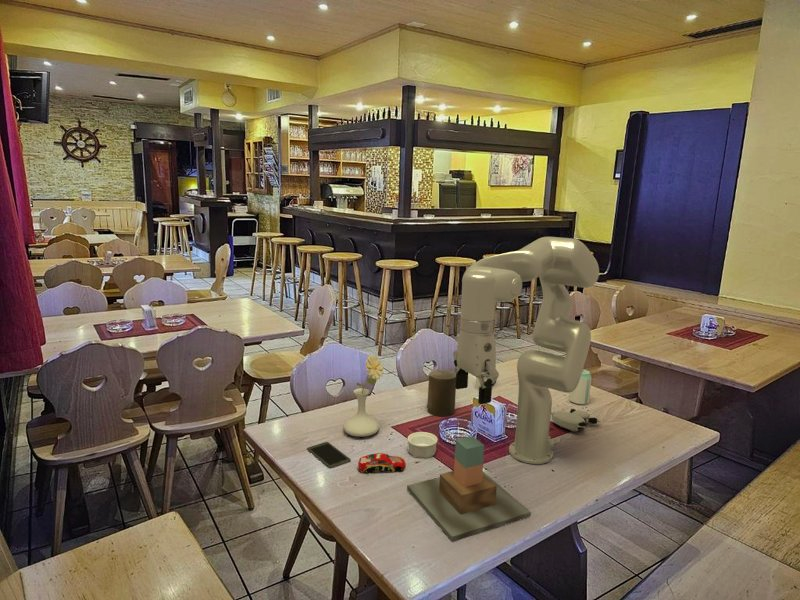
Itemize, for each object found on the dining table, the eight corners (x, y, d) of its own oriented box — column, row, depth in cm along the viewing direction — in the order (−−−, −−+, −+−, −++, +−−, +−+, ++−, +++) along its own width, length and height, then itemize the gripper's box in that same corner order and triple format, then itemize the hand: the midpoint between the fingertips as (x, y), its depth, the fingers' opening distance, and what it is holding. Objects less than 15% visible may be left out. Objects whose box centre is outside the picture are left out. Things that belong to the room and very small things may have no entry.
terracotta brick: (470, 472, 129) (471, 454, 128) (482, 482, 125) (483, 464, 124) (453, 476, 127) (454, 458, 126) (464, 487, 123) (465, 468, 122)
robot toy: (571, 416, 181) (544, 423, 172) (572, 404, 180) (545, 410, 172) (602, 429, 172) (575, 437, 163) (604, 416, 171) (577, 424, 162)
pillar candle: (447, 419, 174) (449, 377, 171) (422, 412, 179) (423, 371, 176) (459, 409, 182) (461, 369, 179) (435, 403, 187) (437, 364, 184)
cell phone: (327, 443, 156) (327, 441, 156) (352, 462, 145) (352, 460, 145) (305, 450, 152) (305, 447, 151) (329, 470, 141) (329, 467, 141)
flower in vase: (355, 443, 155) (355, 365, 150) (336, 429, 164) (336, 355, 159) (390, 432, 163) (392, 357, 158) (370, 419, 172) (372, 348, 167)
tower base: (478, 471, 142) (479, 450, 140) (530, 516, 122) (532, 493, 121) (407, 489, 132) (407, 467, 131) (451, 541, 113) (453, 516, 111)
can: (564, 399, 193) (567, 369, 191) (579, 397, 196) (582, 367, 194) (578, 406, 187) (581, 375, 185) (592, 403, 190) (596, 373, 188)
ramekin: (418, 462, 146) (418, 448, 145) (401, 449, 153) (401, 435, 152) (443, 454, 151) (443, 441, 150) (425, 442, 158) (425, 429, 157)
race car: (404, 463, 146) (404, 450, 145) (406, 473, 140) (407, 459, 140) (357, 464, 144) (358, 451, 143) (358, 474, 139) (358, 461, 138)
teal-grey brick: (472, 454, 128) (473, 436, 127) (483, 464, 124) (484, 445, 123) (454, 458, 126) (455, 439, 125) (465, 468, 122) (466, 448, 121)
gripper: (513, 333, 112) (508, 406, 115) (469, 315, 127) (465, 381, 131) (484, 336, 109) (480, 412, 112) (443, 318, 124) (440, 385, 127)
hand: (472, 395), depth 121 cm, fingers open, 9 cm apart
